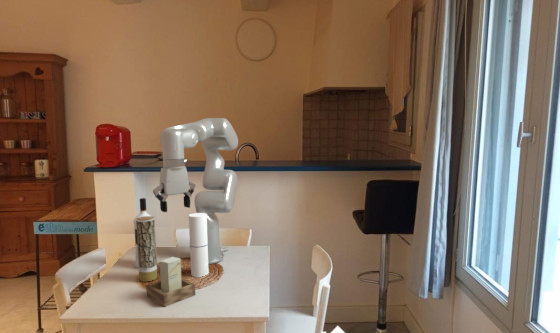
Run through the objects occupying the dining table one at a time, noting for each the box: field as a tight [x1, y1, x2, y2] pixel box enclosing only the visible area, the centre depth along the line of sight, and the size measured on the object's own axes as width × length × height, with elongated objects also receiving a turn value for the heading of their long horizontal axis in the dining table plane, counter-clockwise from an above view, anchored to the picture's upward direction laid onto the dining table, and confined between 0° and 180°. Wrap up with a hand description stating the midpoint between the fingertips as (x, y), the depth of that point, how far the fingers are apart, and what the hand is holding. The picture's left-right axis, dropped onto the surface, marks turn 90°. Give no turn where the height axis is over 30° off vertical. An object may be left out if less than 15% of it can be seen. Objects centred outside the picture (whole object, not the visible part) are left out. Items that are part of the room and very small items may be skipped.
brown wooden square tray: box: [145, 277, 196, 308], centre depth 144 cm, size 12×12×4 cm
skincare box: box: [159, 256, 182, 293], centre depth 143 cm, size 6×4×12 cm
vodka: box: [133, 197, 158, 269], centre depth 173 cm, size 9×9×30 cm
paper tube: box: [136, 215, 158, 283], centre depth 158 cm, size 7×7×25 cm
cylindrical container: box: [188, 212, 209, 278], centre depth 162 cm, size 7×7×25 cm
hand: (175, 209), depth 147 cm, fingers open, 9 cm apart
